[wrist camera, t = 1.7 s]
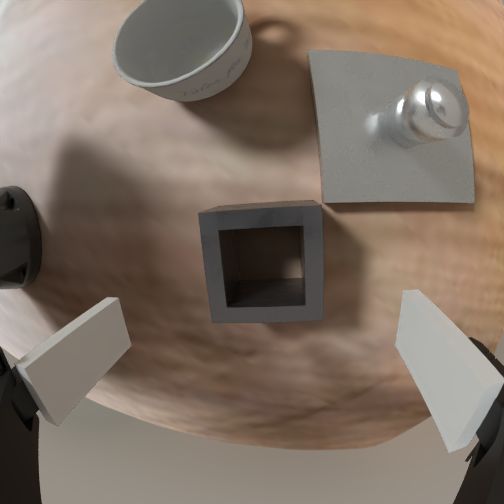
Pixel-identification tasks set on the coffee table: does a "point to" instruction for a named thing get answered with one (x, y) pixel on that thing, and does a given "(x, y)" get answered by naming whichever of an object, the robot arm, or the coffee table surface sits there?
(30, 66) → the coffee table surface
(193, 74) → the teacup
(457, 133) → the grey plate with post
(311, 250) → the grey square hollow block
